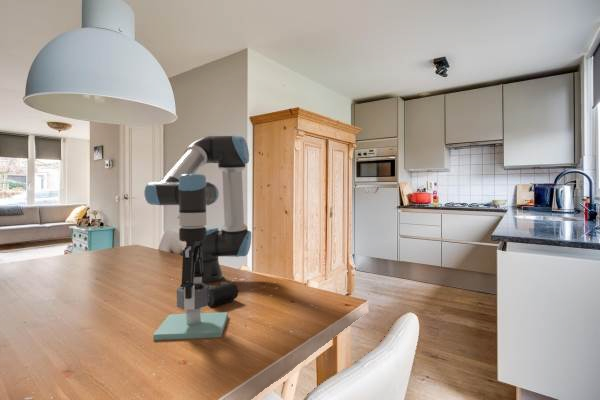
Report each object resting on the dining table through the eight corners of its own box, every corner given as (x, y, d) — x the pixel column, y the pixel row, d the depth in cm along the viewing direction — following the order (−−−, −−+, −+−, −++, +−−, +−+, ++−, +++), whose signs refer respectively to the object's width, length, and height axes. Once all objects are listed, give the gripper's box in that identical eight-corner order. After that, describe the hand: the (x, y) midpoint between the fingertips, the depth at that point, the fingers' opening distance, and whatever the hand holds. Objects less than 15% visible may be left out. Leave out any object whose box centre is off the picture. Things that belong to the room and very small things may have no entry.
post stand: (169, 319, 98) (169, 293, 98) (227, 316, 100) (227, 291, 100) (153, 340, 84) (152, 310, 84) (220, 337, 86) (220, 308, 86)
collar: (182, 299, 96) (182, 283, 95) (210, 298, 96) (210, 282, 96) (174, 310, 87) (174, 292, 87) (204, 309, 88) (204, 291, 88)
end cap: (214, 309, 106) (214, 289, 106) (203, 304, 111) (203, 285, 111) (238, 301, 114) (238, 283, 114) (227, 297, 119) (227, 279, 118)
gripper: (189, 223, 101) (189, 292, 102) (167, 231, 80) (168, 318, 81) (212, 223, 102) (212, 291, 103) (197, 231, 81) (198, 317, 82)
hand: (193, 303), depth 92 cm, fingers closed on collar, 8 cm apart
